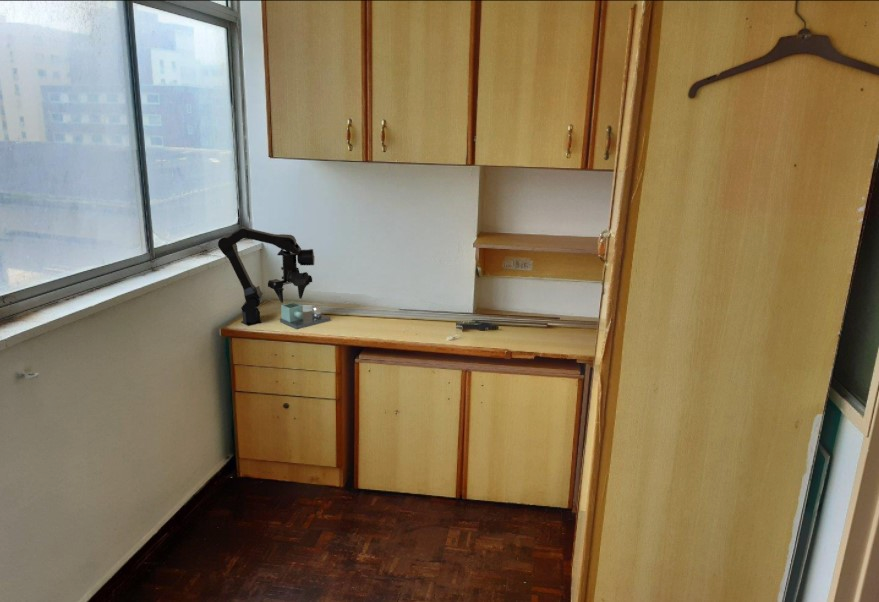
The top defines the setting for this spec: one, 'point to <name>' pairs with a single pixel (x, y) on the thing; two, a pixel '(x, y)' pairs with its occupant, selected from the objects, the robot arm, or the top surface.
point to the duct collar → (292, 312)
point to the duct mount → (308, 318)
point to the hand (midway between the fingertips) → (291, 300)
